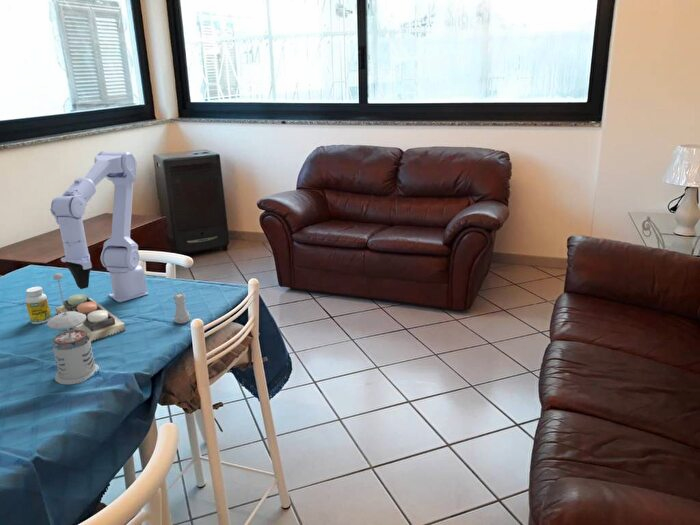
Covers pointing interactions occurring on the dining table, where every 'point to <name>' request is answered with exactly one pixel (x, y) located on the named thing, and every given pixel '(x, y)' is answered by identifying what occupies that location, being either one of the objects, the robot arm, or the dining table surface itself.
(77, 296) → the button sage
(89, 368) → the french press
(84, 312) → the button terracotta
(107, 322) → the button board
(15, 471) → the dining table surface
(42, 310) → the supplement bottle
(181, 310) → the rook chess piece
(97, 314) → the button cream
